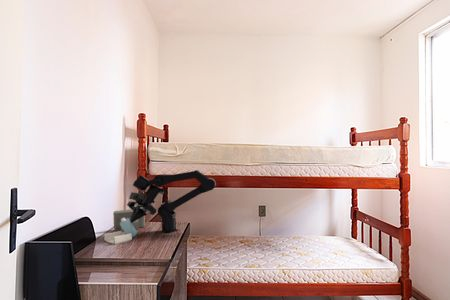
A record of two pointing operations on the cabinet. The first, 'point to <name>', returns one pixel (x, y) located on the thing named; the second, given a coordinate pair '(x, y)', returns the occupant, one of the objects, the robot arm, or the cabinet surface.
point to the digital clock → (126, 214)
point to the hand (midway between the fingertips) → (130, 222)
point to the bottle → (128, 227)
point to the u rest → (117, 237)
